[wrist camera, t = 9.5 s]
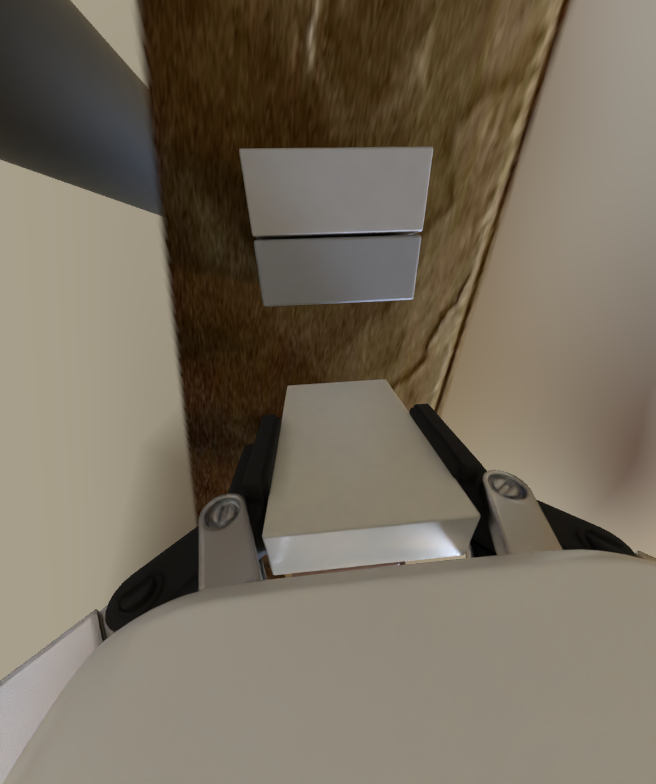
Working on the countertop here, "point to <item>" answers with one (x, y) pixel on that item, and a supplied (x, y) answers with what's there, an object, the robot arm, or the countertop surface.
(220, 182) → the countertop surface
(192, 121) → the countertop surface
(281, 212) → the grey books
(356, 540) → the white book
